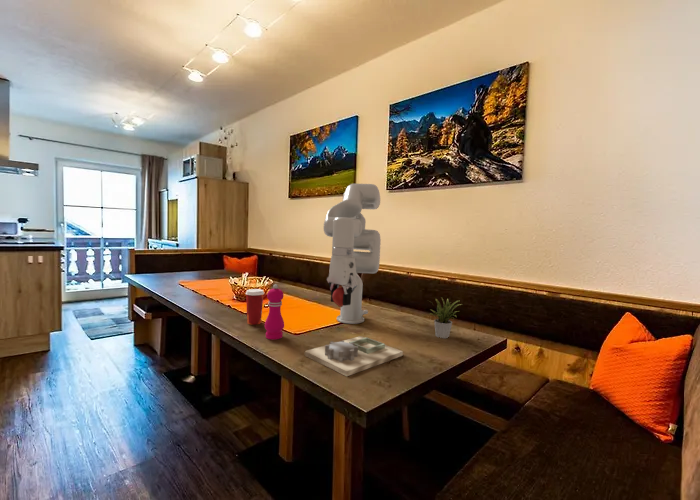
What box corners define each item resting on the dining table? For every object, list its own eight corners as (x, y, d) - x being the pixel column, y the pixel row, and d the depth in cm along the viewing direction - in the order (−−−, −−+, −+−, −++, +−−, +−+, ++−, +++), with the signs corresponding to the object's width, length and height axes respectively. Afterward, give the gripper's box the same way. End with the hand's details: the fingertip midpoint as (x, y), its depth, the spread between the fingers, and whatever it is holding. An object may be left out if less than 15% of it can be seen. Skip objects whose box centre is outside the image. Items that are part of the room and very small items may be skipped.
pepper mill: (279, 341, 125) (280, 286, 124) (260, 338, 126) (262, 285, 125) (286, 335, 132) (288, 283, 131) (269, 333, 134) (270, 282, 132)
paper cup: (267, 322, 148) (268, 290, 147) (253, 326, 141) (254, 292, 140) (254, 319, 152) (255, 288, 151) (240, 323, 145) (241, 290, 144)
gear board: (360, 339, 130) (360, 328, 130) (402, 355, 116) (403, 342, 115) (304, 355, 112) (305, 342, 112) (346, 376, 98) (347, 361, 97)
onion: (332, 305, 125) (332, 283, 124) (347, 305, 125) (348, 283, 124) (332, 308, 119) (332, 286, 118) (348, 309, 119) (349, 286, 119)
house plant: (470, 337, 139) (472, 297, 138) (454, 345, 129) (457, 302, 128) (438, 329, 149) (440, 292, 148) (421, 335, 139) (423, 295, 137)
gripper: (367, 254, 117) (365, 306, 118) (335, 250, 129) (333, 297, 131) (351, 254, 112) (348, 309, 113) (319, 250, 124) (317, 299, 126)
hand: (340, 302), depth 122 cm, fingers closed on onion, 5 cm apart
